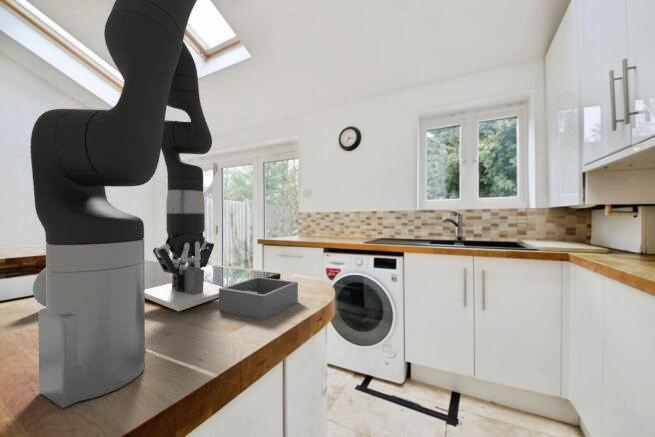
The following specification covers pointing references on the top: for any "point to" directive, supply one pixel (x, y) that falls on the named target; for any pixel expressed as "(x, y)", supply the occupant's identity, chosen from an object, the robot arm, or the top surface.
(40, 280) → the donut
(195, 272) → the lid
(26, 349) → the top surface
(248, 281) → the box
